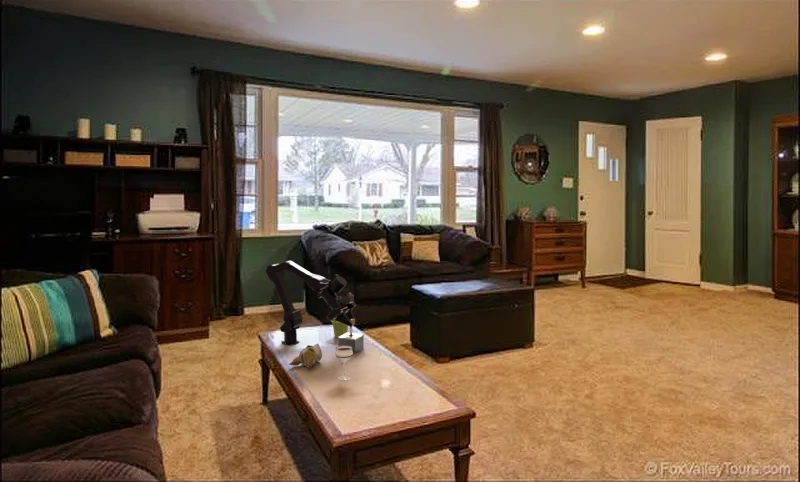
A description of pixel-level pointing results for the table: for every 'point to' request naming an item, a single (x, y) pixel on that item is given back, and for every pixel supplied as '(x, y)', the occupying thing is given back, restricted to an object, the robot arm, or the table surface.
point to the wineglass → (344, 357)
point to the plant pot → (339, 328)
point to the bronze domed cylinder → (352, 324)
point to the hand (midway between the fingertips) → (353, 325)
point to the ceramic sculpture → (308, 356)
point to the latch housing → (352, 341)
